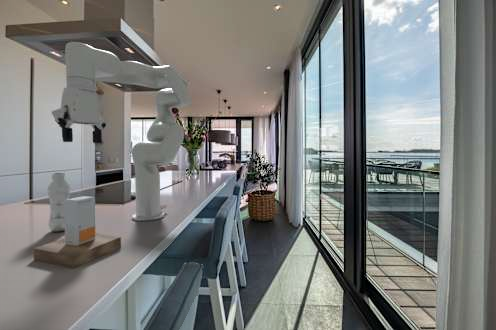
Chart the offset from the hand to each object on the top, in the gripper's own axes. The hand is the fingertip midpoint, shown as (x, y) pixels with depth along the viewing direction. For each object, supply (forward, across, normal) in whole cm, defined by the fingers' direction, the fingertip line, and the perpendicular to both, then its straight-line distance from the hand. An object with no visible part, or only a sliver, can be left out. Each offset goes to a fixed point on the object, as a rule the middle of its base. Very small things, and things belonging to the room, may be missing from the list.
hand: (83, 142), depth 79 cm
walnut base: (+30, +9, +9) cm, 33 cm away
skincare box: (+28, +9, +9) cm, 30 cm away
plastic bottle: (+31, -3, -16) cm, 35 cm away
